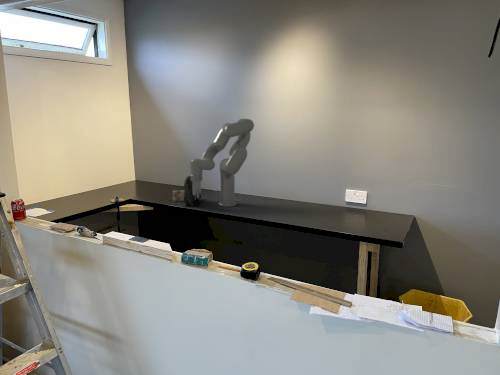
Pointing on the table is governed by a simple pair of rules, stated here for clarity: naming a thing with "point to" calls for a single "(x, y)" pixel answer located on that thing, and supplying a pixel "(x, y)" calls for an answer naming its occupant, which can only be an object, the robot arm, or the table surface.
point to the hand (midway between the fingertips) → (197, 204)
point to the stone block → (189, 192)
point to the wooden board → (179, 196)
